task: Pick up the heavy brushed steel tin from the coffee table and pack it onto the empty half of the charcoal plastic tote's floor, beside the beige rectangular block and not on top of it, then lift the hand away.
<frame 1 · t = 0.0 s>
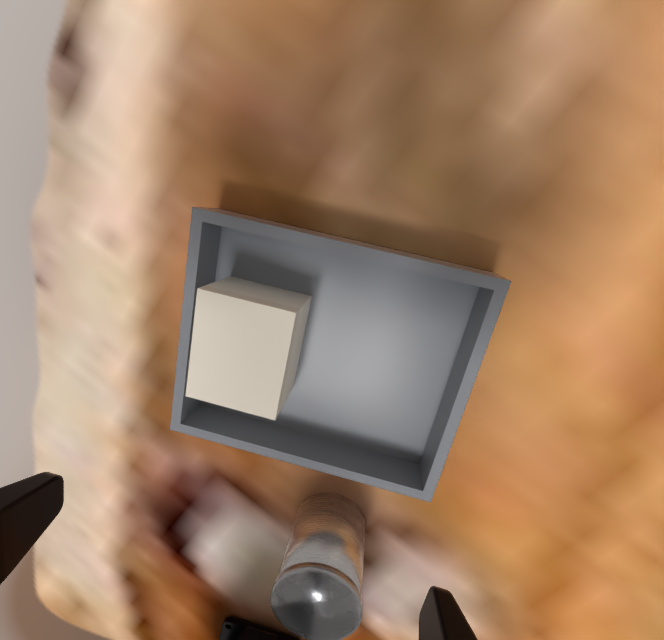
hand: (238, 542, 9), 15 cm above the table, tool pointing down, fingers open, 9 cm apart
steel tin: (330, 522, 26), on the table
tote: (327, 346, 23), on the table
beige rectangular block: (262, 333, 22), point 1 cm above the table, touching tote
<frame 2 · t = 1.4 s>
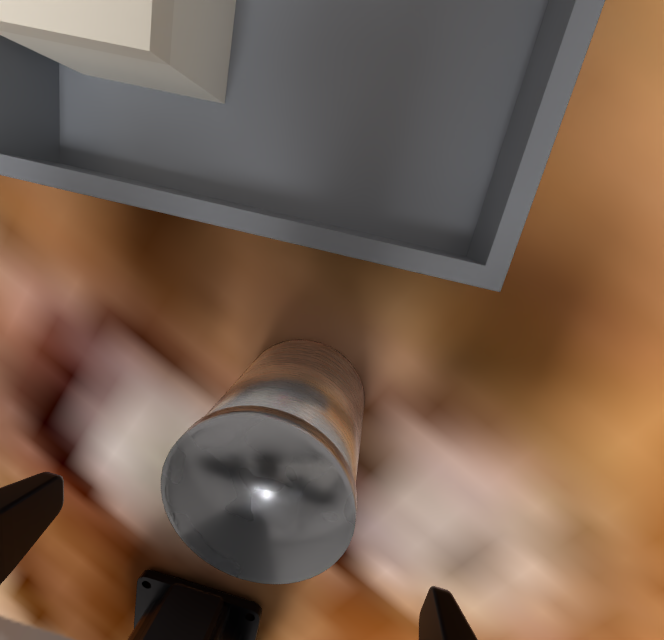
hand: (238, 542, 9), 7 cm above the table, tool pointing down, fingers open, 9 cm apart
steel tin: (303, 396, 15), on the table
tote: (289, 13, 12), on the table
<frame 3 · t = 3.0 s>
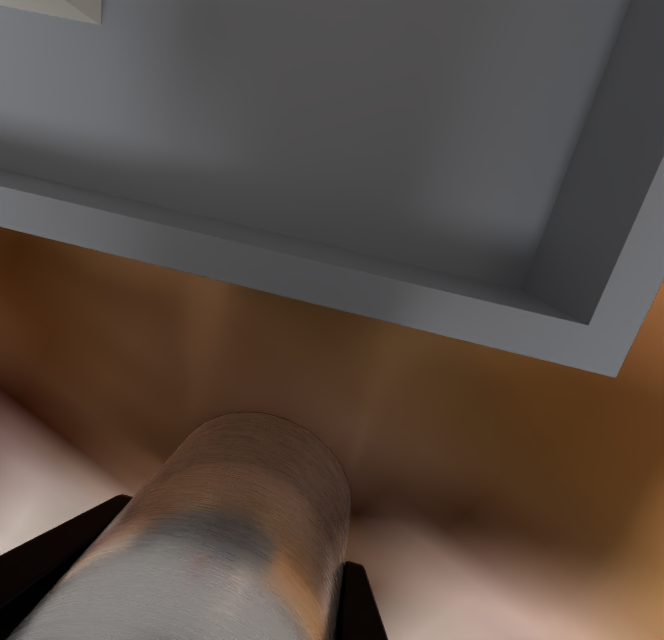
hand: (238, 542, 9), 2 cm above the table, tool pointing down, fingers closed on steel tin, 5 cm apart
steel tin: (259, 494, 10), on the table, touching gripper
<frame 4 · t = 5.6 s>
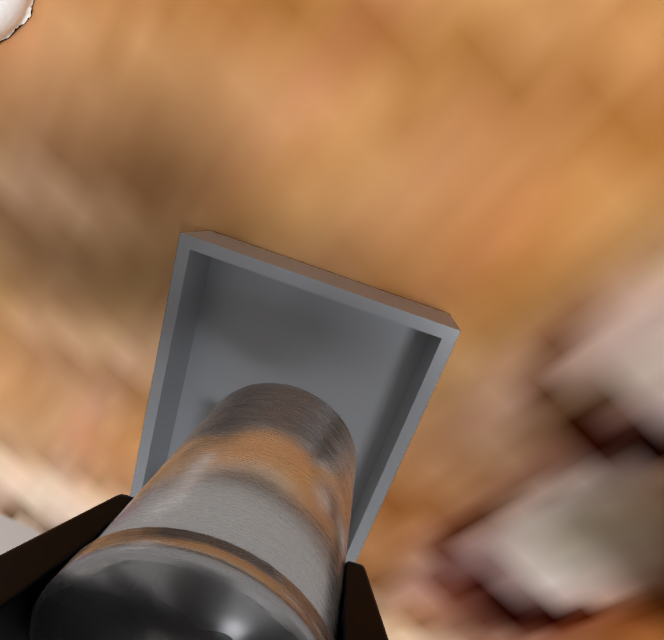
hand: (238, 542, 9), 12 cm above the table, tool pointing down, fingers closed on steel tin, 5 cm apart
steel tin: (277, 455, 12), point 9 cm above the table, touching gripper
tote: (286, 401, 21), on the table
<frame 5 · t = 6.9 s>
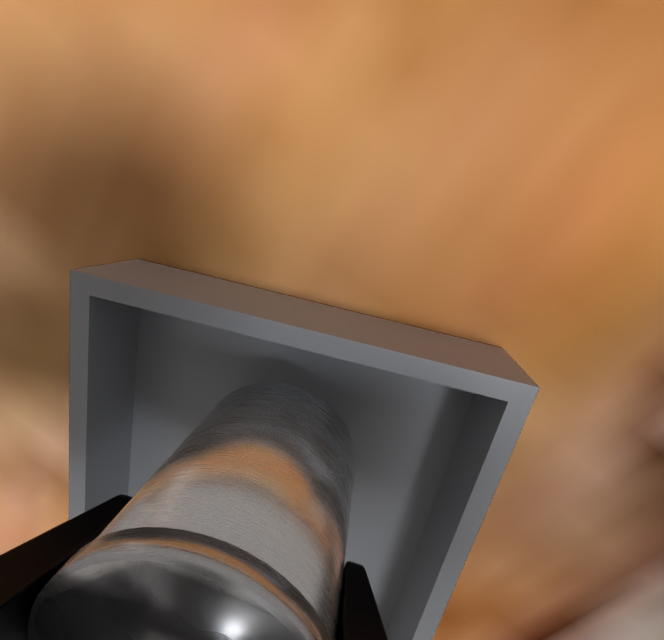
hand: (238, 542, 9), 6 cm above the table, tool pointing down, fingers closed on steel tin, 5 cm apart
steel tin: (277, 455, 12), point 3 cm above the table, touching gripper
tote: (275, 485, 15), on the table
when the fingers open (4 cm above the table, at t = 8.2 s): steel tin stays where it is, resting on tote.
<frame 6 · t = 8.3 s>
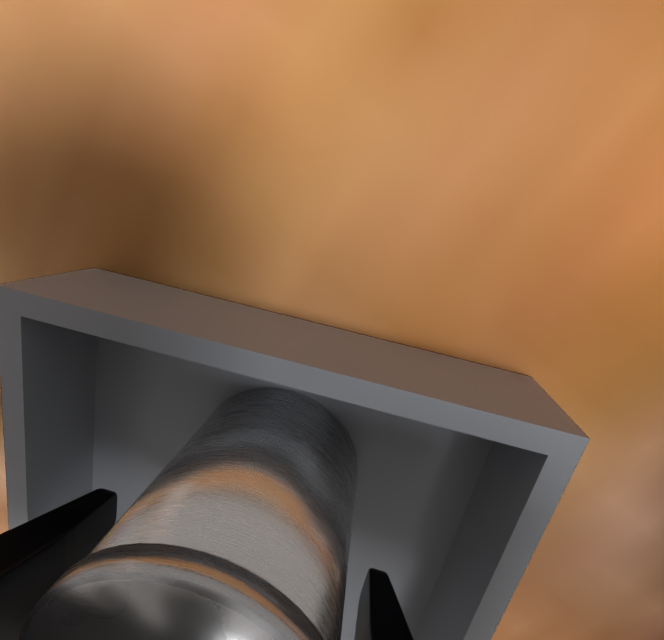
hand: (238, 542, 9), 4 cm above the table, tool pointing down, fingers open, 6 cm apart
steel tin: (277, 461, 11), point 1 cm above the table, touching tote
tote: (261, 530, 13), on the table
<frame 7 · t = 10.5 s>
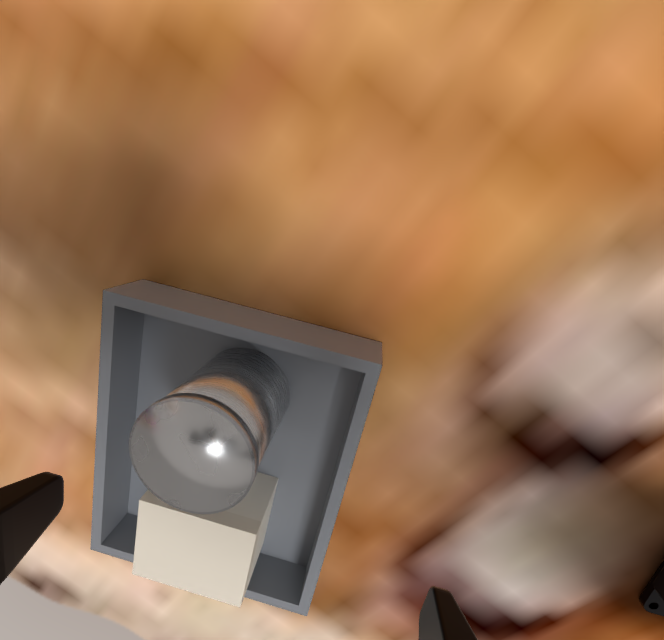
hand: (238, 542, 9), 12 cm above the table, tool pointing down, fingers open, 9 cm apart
steel tin: (245, 390, 20), point 1 cm above the table, touching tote
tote: (237, 436, 22), on the table
beige rectangular block: (223, 497, 22), point 1 cm above the table, touching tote
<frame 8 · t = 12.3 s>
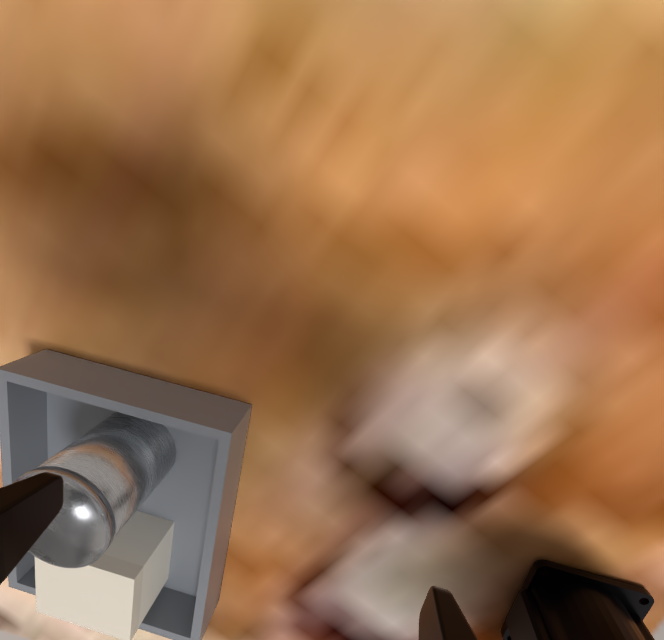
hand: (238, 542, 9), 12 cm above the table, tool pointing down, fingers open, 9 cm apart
steel tin: (137, 446, 23), point 1 cm above the table, touching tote
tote: (138, 484, 24), on the table
beige rectangular block: (129, 538, 25), point 1 cm above the table, touching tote
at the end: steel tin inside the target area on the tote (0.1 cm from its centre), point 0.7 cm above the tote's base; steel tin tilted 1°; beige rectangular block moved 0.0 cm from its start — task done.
